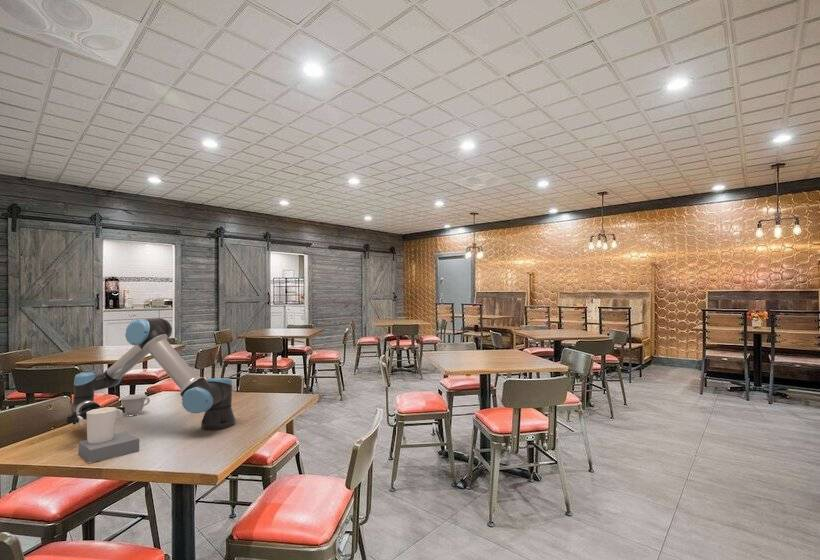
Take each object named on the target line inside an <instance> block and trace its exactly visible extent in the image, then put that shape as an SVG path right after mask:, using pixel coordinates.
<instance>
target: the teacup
mask: <svg viewBox="0 0 820 560" xmlns="http://www.w3.org/2000/svg"><path fill="white" fill-rule="evenodd" d="M119 399H120V400H121V407H125V413H124V414H126V415H128V416H127V417H130V416H129V415H136V416H138V415H137V414H139V415H140V412H141V411H143V409H144V407H145V406H147V405H149V404H150V403H151V399H150V397H149V396H147V394H146V393H145V394H143V393H139V394H129V395H124V396H121V397H120V398H119ZM146 400H147V401H146ZM145 401H146V403H145Z"/></svg>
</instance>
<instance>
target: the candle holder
mask: <svg viewBox="0 0 820 560" xmlns="http://www.w3.org/2000/svg"><path fill="white" fill-rule="evenodd" d="M115 407H116V406H112V407H108V406H107V407H105V408H103V407H101V408H99V409H94V410H90V411H88V412H86V415H87V420H86V438H87V439H86V440H87V442H88V443H89V444H98V443H104V442H107V441H110V440H112V439H113V438H114V434H115V429H116V419H117V416H116V411H117V408H115Z"/></svg>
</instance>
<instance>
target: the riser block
mask: <svg viewBox="0 0 820 560" xmlns="http://www.w3.org/2000/svg"><path fill="white" fill-rule="evenodd" d="M77 450H78V453H77V455H78V454H79V455H78V456H80V457H81V456H82V457H83V458H84V459H83V458H82V457H81V458H82V459H83V460H84V461H86V460H87V461H88V462H90V463H91V462H95V463H97V462H96V461H99V462H101V461H100V460H103V461H106V460H105V459H107V460H110V459H109V458H111V459H113V457H114V458H119V457H122V456H126V455H129V454H133V453H137V452H139V451H140V437H137V436H136V435H134V434H132V433H130V432H128V431H121V432H116V433H114V438H113V439H112V440H110V441H107V442H104V443H98V444H89V443H88V442H87V439H84V440H80V441H78V449H77ZM87 461H86V462H87ZM88 462H87V463H88ZM90 463H89V464H90ZM91 464H92V463H91Z"/></svg>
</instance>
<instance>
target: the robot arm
mask: <svg viewBox="0 0 820 560" xmlns="http://www.w3.org/2000/svg"><path fill="white" fill-rule="evenodd" d="M172 333H173V326H172V325H171V323H170V321H168V320H166V319H165V318H159V317H158V318H140V319H135V320H133V321H131V322H129V324H128V325H127V326H126V329H125V333H124V334H125V336H124V337H125V340H126V341H127V342H128V343H129V344H130V345H133V346H132V347H131V348H130V349H128V351H126V353H124V354H123V355H122V356H121V357H120V358H118V360H117V361H115V362H114V363H112V365H111V366H110V367H108V369H106V370H105V371H104V372H102V373H100V374H96V373H94V372H92V371H91V372H81V373H77V374H76V375H75V376H74V379H73V380H74V381H73V399H72V402H71V404H70V409H71V412H72V413H71V414H70V415H68V416H66V424H70V423H72V425H76V424H78V425H80V426H83V425H84V420H86V421H87V415H86V412H88V411H90V410H94V409H99V408H106V407H102V406H101V405H100V404H99V403H98V402H96V401H94V400H95V392H96V391H100V390H105V389H109V388H113V387H116V386H118V385H119V384H120V383H121V381H122V378H123V377H124V376H125V375H126V374H127V373H128V372H130V371H131V370H132V369H133V368H134V367H135V366H137V365H138V363H140V362H141V361H142V360H144V358H146V357H147V356H148V355H149V354H150V355H151V356H152V357H153V359H154V360H155V361H156V362H157V363H158V365H160V366H161V368H162V369H163V370H164V371H165V372H166V374H167V375H168V376H169V377H170V379H172V381H173V382H174V383H175V385H177V387H178V388H179V389H180V393H179V395H180V397H181V401H182V402H181V403H182V404H181V405H182V407H183V408H184V409H185V410H186V411H187V412H189V413H191V414H200V413H204V414H203V417H202V420H201V422H200V428H201V430H202V429H203V430H209V431H210V430H212V431H213V430H221V429H225V428H226V427H227V428H230V427H232V426H234V425H235V423H236V417H235V414H234V412H233V409H232V403H233V402H232V400H233V399H232V398H233V397H232V396H233V380H232V379H231V378H229V377H228V378H227V377H220V378H218V377H215V378H207V379H206V378H205V377H203V376H198V375H197V374H196V373H195V371H194V370H193V368H192V367H190V366H189V364H188V363H187V361H185V359H184V358H183V357H182V356H181V355H180V354H179V353H178V351H176V349H175V348H174V347H173V345H172V344H170V342H169V341H168V340H169V339H170V337H171V336H172ZM107 407H113V406H110V405H107ZM114 407H115V408H117V411H116V417H118V418H119V419H120V418H122V419H123V418H124V417H123V415H124V414H126V413H125V407H122V406H114ZM229 426H230V427H229ZM227 428H226V429H227Z"/></svg>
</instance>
